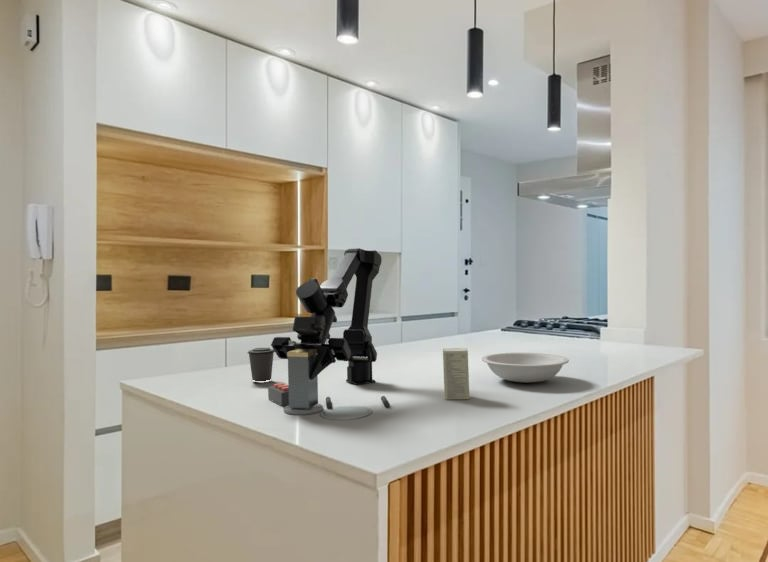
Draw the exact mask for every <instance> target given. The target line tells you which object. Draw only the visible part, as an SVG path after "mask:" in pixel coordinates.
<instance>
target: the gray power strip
mask: <svg viewBox="0 0 768 562" xmlns="http://www.w3.org/2000/svg"><path fill="white" fill-rule="evenodd" d="M267 393H268V394H267V398H269V399H271V400H273V401H274V402H273V401H272V402H273V403H275V402H276V403H275V404H277V403H278V404H277V405H279V404H280V405H279V406H281V405H282V406H281V407H284V406H283V405H286V406H288V405H289V387H288V384H285V383H284V382H279V383H273V384H272V385H271V386H270V385H269V386H267ZM269 399H268V400H269ZM271 400H270V401H271Z"/></svg>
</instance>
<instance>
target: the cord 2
mask: <svg viewBox="0 0 768 562" xmlns="http://www.w3.org/2000/svg"><path fill="white" fill-rule="evenodd" d="M380 400H381V402H382V404H383V406H384V407H385V408H390V407H391V404H390V402H389V400H388V398H387V397H386V396H385V395H382V396H381V397H380Z"/></svg>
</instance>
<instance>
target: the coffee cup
mask: <svg viewBox="0 0 768 562" xmlns="http://www.w3.org/2000/svg"><path fill="white" fill-rule="evenodd" d="M247 351H248V352H247V354H248V355H249V356H248V358H249V364H250V365H249V366H250V371H251V372H250V373H251V380H255V381H266V380H270V379H271V380H272V374H273V365H274V364H273V361H274V355H275V351H274V349H273V348H271V347H256V348H253V349H250V350H247Z"/></svg>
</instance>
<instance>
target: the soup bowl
mask: <svg viewBox="0 0 768 562" xmlns="http://www.w3.org/2000/svg"><path fill="white" fill-rule="evenodd" d="M481 361H482V362H484V363H486V364H487V366H488V368H489V369H490V371H491V372H492V373H493V374H494V375H496V376H497V377H499V378H501V379H503V380H506V381H510V382H515V383H528V384H529V383H540V382H544V381H548V380H550V379H552V378H554V377H555V376H556V375H557V374H558V373H559V372H560V371H561V370H562V368H563V365H566V364H568V363H569V358H567V357H564V356H561V355H558V354H557V355H556V354H550V353H543V352H542V353H541V352H540V353H539V352H502V353H501V352H500V353H491V354H487V355H484V356H482V357H481Z"/></svg>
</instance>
